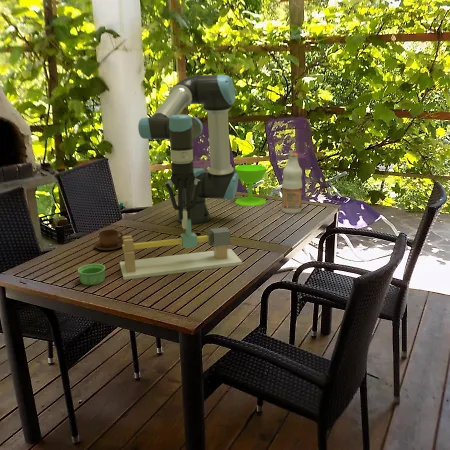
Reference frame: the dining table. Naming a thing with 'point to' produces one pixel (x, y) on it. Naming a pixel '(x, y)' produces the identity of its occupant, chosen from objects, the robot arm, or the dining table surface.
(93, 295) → the dining table surface
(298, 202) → the fruit juice
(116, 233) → the cup and saucer
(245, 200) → the wineglass
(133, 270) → the cord rig
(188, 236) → the sleeve
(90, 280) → the ramekin
